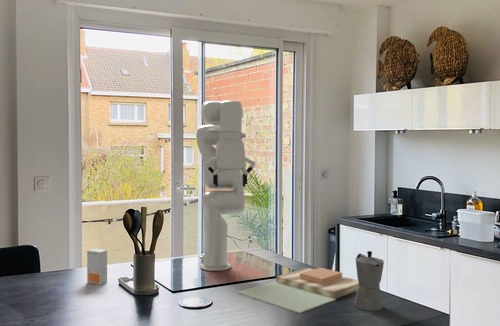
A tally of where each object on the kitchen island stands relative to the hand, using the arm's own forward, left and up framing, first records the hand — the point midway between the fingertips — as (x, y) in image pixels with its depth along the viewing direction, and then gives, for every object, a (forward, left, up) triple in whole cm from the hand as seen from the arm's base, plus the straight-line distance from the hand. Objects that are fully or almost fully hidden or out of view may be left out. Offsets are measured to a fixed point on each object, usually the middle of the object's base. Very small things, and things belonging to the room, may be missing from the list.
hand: (230, 186), depth 181 cm
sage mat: (+17, +10, -37) cm, 42 cm away
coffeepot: (+41, +22, -37) cm, 60 cm away
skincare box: (-41, -29, -37) cm, 62 cm away
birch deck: (+17, +28, -37) cm, 50 cm away
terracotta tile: (+17, +29, -34) cm, 48 cm away
